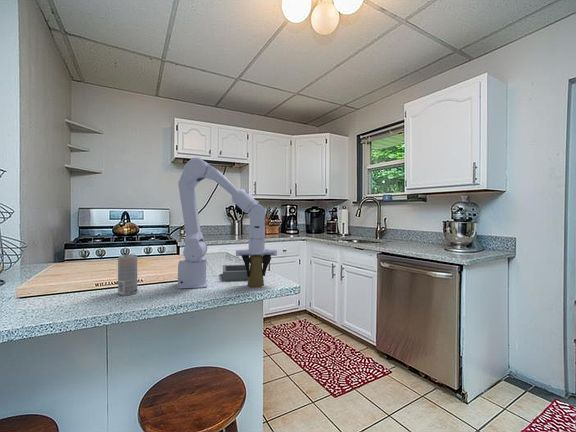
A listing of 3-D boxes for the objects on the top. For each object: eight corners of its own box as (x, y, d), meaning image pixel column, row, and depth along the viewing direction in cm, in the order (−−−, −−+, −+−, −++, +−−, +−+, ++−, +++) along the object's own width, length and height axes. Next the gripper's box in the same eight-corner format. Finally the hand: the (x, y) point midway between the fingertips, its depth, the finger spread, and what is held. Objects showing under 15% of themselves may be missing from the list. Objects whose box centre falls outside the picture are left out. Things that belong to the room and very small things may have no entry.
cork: (263, 287, 100) (263, 256, 99) (246, 287, 100) (246, 256, 99) (264, 282, 106) (265, 253, 105) (248, 282, 106) (249, 253, 105)
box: (222, 281, 107) (223, 271, 106) (222, 273, 117) (222, 265, 117) (252, 280, 109) (252, 271, 109) (249, 272, 120) (249, 264, 120)
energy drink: (134, 289, 94) (134, 253, 94) (139, 293, 91) (139, 256, 90) (116, 292, 91) (115, 255, 90) (120, 297, 87) (120, 258, 86)
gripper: (236, 239, 96) (236, 279, 97) (278, 239, 100) (277, 277, 100) (235, 237, 103) (235, 274, 104) (275, 237, 107) (274, 272, 107)
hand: (255, 275), depth 103 cm, fingers closed on cork, 5 cm apart
